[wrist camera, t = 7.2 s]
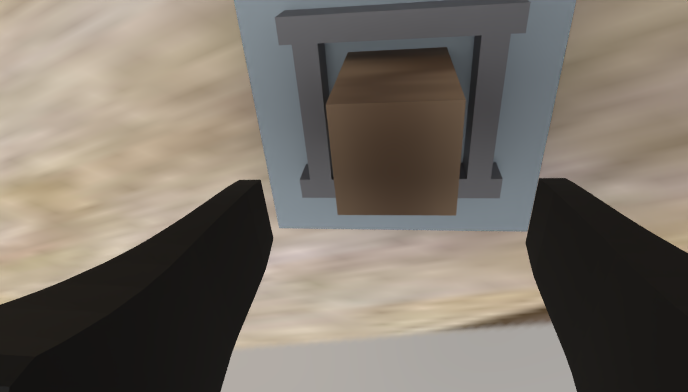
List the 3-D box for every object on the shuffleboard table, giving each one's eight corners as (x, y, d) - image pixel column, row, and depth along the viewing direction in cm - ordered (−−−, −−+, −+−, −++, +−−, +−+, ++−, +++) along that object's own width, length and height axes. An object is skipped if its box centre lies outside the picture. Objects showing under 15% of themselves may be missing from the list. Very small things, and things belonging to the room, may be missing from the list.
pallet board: (588, -109, 14) (619, -114, 12) (522, 219, 22) (535, 250, 20) (228, -75, 16) (202, -75, 14) (283, 217, 24) (272, 245, 22)
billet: (446, 46, 17) (465, 100, 12) (441, 138, 19) (456, 215, 14) (348, 52, 17) (325, 104, 12) (354, 139, 19) (337, 215, 14)
